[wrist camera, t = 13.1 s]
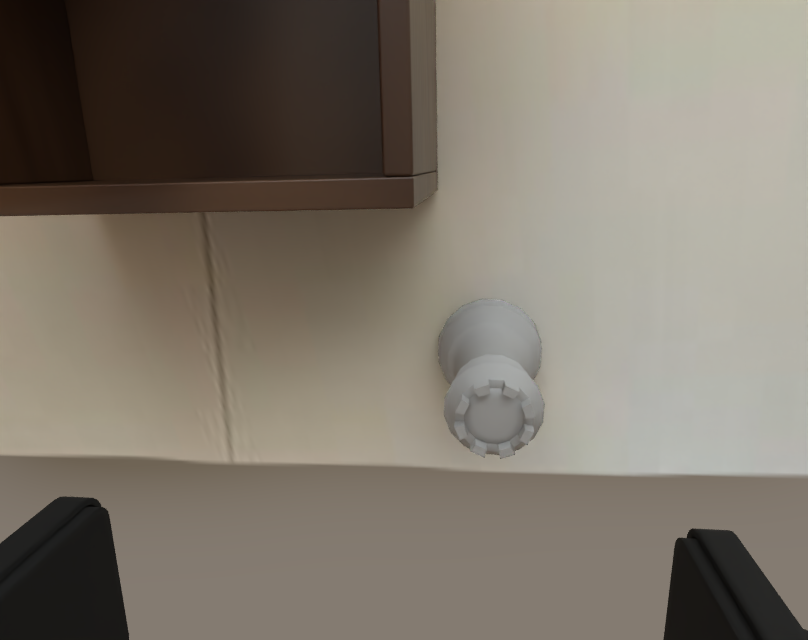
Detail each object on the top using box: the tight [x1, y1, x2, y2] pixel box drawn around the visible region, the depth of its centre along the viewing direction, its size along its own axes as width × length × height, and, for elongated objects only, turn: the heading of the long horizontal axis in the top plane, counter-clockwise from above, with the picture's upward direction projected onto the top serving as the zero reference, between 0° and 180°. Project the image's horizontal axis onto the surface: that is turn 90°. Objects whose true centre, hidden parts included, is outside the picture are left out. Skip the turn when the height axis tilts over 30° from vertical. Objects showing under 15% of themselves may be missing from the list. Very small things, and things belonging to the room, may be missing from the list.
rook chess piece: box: [438, 299, 545, 459], centre depth 22 cm, size 4×4×8 cm
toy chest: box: [0, 0, 438, 216], centre depth 19 cm, size 16×13×10 cm
